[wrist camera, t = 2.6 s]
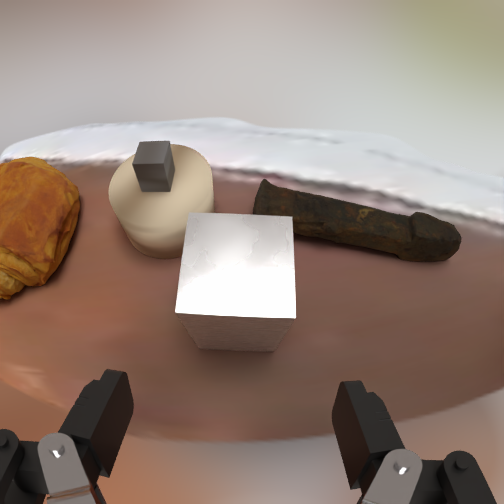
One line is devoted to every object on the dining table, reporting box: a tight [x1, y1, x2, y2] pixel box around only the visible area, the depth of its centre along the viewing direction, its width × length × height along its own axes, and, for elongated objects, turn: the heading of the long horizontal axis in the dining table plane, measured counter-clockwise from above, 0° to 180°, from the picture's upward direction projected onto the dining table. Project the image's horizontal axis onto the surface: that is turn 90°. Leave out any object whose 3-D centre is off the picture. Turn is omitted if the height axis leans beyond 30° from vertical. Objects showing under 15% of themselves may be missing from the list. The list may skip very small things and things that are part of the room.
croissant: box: [0, 157, 80, 299], centre depth 23 cm, size 14×16×8 cm
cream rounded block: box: [109, 141, 215, 259], centre depth 23 cm, size 8×8×8 cm
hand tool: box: [253, 179, 461, 262], centre depth 25 cm, size 19×4×5 cm, turn 76°
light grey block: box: [175, 212, 296, 352], centre depth 19 cm, size 5×5×9 cm
